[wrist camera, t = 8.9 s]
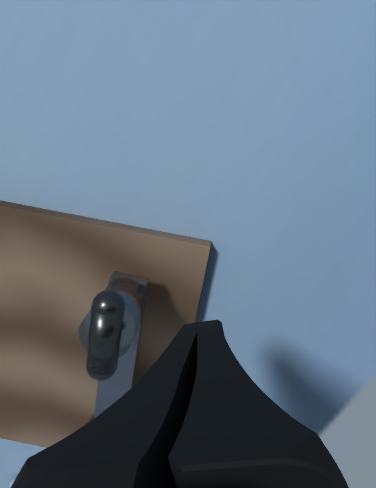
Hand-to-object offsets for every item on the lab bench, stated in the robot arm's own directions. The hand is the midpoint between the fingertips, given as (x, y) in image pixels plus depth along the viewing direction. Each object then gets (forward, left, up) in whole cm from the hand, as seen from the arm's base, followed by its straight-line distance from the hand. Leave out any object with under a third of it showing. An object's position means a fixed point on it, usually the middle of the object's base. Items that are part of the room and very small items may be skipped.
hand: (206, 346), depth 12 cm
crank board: (-8, +8, -9) cm, 15 cm away
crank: (-8, +4, -8) cm, 12 cm away
